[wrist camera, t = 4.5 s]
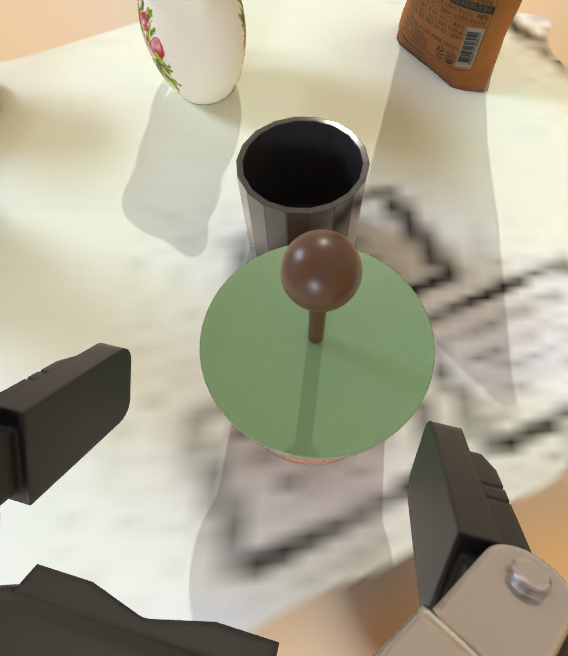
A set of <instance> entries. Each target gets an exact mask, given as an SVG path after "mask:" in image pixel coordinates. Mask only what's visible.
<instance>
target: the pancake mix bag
mask: <svg viewBox="0 0 568 656" xmlns="http://www.w3.org/2000/svg"><path fill="white" fill-rule="evenodd" d="M521 1H522V0H407V2H406V4H405V7H404V10H403V13H402V16H401V19H400V22H399V31H398V34H397V39H398V41H399V44H400V45H401V46H403V47H404V48H405V49H406V50H408V51H409V52H410V53H412V54H413V55H414V56H415V57H416V58H418V59H419V60H420V61H421V62H423V63H424V64H425V65H427V66H428V67H429V68H430V69H432V70H433V71H434V72H435V73H437V74H438V75H439V76H440V77H441V78H442V79H443V80H444V81H446V82H447V83H448V84H449V85H450V86H452V87H455V88H459V89H462V90H473V91H488V87H489V82H490V78H491V75H492V72H493V69H494V66H495V63H496V60H497V57H498V55H499V52H500V49H501V46H502V43H503V39H504V37H505V35H506V32H507V30H508V28H509V25H510V24H511V22H512V20H513V18H514V16H515V15H516V13H517V11H518V8H519V6H520V4H521Z"/></svg>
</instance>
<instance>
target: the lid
mask: <svg viewBox="0 0 568 656" xmlns="http://www.w3.org/2000/svg"><path fill="white" fill-rule="evenodd" d="M434 357H435V346H434V337H433V332H432V328H431V324H430V320H429V318H428V316H427V313H426V311H425V308H424V306H423V305H422V303H421V301H420V299H419V298H418V296H417V295H416V293H415V292H414V291H413V289H412V288H411V287H410V285H409V284H408V283H407V282H406V281H405V280H404V279H403V278H402V277H401V276H400V275H399V274H398V273H397V272H395V271H394V270H393V269H392V268H390V267H389V266H388V265H386V264H385V263H383V262H381V261H380V260H378V259H377V258H374V257H372V256H370V255H368V254H366V253H364V252H361V251H358V250H357V249H356V247H355V246H354V245H353V243H352V242H351V241H350V240H349V239H348V238H346V237H345V236H343V235H342V234H340V233H338V232H335V231H332V230H326V229H317V230H312V231H308V232H306V233H304V234H302V235H300V236H298V237H297V238H296V239H294V240H293V241H292V242H291V243H290V245H289V246H285V247H281V248H278V249H275V250H272V251H269V252H267V253H265V254H262V255H260V256H258V257H256V258H255V259H253V260H251V261H250V262H248V263H246V264H245V265H244V266H242V267H241V268H240V269H238V270H237V271H236V272H235V273H234V274H233V275H232V276H231V277H230V278H229V279H228V280H227V281H226V282H225V283H224V284H223V286H222V287H221V288H220V289H219V291H218V292H217V294H216V295H215V297H214V299H213V300H212V302H211V304H210V306H209V309H208V311H207V313H206V316H205V319H204V322H203V326H202V331H201V337H200V360H201V367H202V372H203V375H204V379H205V382H206V385H207V387H208V389H209V392H210V394H211V396H212V398H213V399H214V401H215V403H216V404H217V406H218V407H219V409H220V410H221V412H222V413H223V414H224V415H225V417H226V418H227V419H228V420H229V421H230V422H231V424H232V425H234V426H235V427H236V428H237V429H238V430H239V431H240V432H241V433H243V434H244V435H245V436H247V437H248V438H250V439H251V440H253V441H254V442H256V443H257V444H259V445H261V446H263V447H266V448H268V449H270V450H272V451H275V452H278V453H281V454H284V455H287V456H291V457H297V458H302V459H316V460H324V459H336V458H342V457H346V456H351V455H355V454H358V453H360V452H363V451H365V450H368V449H371V448H372V447H374V446H376V445H378V444H380V443H381V442H383V441H385V440H386V439H388V438H389V437H390V436H392V435H393V434H394V433H396V432H397V431H398V430H399V429H400V428H401V427H402V426H403V425H404V424H405V423H406V422H407V421H408V420H409V419H410V418H411V417H412V415H413V414H414V412H415V411H416V410H417V408H418V407H419V406H420V404H421V402H422V400H423V398H424V396H425V394H426V392H427V390H428V387H429V384H430V381H431V378H432V373H433V368H434Z"/></svg>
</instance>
